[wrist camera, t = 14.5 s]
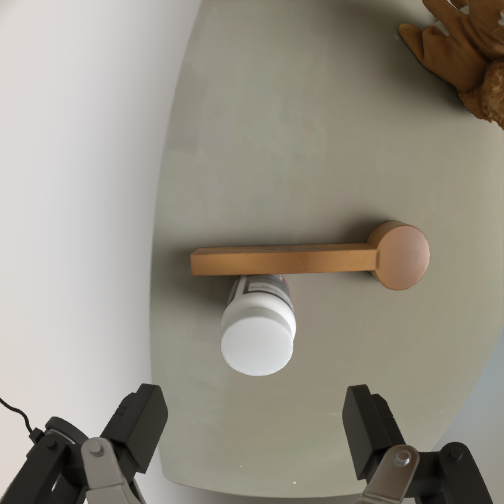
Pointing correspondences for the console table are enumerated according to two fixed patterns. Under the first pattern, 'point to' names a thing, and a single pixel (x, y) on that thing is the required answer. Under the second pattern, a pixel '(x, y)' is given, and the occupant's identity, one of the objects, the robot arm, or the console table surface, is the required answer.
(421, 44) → the stuffed squirrel
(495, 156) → the console table surface
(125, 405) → the robot arm
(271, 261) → the wooden spoon
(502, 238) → the console table surface
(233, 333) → the pill bottle
